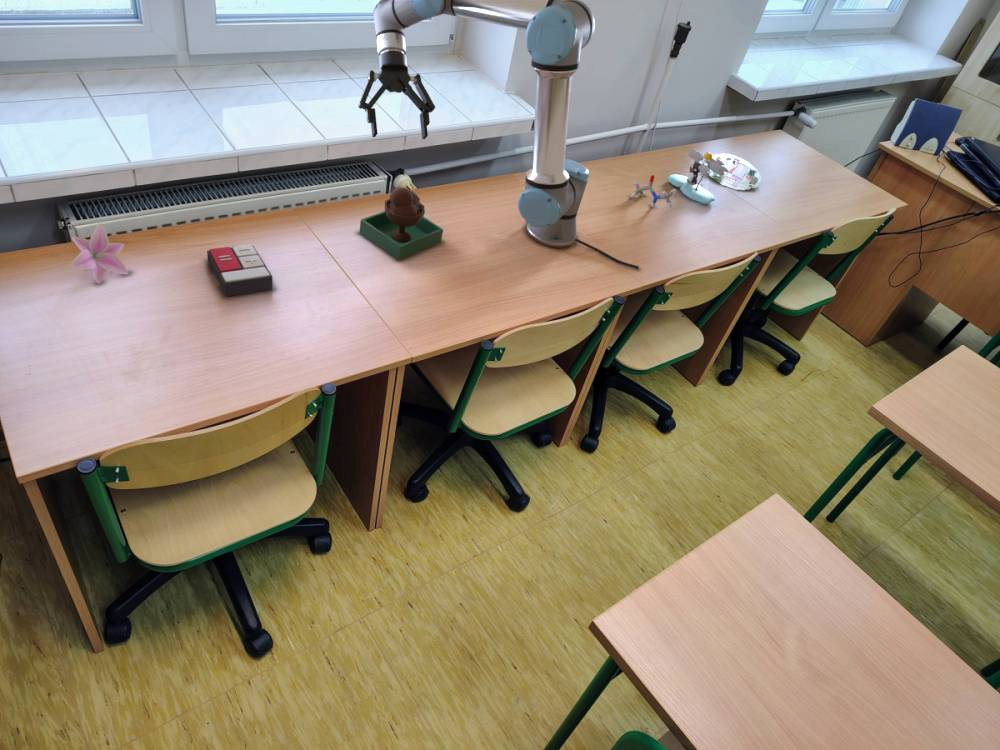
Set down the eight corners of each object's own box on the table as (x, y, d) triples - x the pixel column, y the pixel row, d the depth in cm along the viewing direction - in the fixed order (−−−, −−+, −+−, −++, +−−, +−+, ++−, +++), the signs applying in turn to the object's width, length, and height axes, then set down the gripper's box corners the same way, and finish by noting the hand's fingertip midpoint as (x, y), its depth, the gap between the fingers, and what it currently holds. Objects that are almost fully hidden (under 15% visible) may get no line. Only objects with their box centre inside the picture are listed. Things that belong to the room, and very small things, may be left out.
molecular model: (674, 215, 241) (686, 187, 236) (661, 216, 235) (673, 187, 230) (634, 195, 250) (644, 167, 245) (620, 194, 244) (631, 166, 239)
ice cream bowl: (414, 252, 191) (422, 203, 181) (375, 240, 191) (380, 190, 182) (425, 233, 199) (433, 185, 189) (387, 222, 199) (393, 173, 190)
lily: (64, 289, 155) (75, 265, 149) (58, 243, 158) (68, 219, 152) (124, 293, 163) (136, 271, 157) (116, 250, 167) (128, 226, 161)
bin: (441, 242, 198) (443, 229, 195) (398, 260, 187) (400, 246, 185) (402, 216, 204) (404, 203, 201) (359, 233, 193) (360, 219, 190)
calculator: (252, 241, 174) (272, 274, 165) (253, 256, 177) (273, 289, 168) (206, 247, 168) (224, 281, 159) (207, 262, 171) (225, 297, 162)
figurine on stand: (661, 179, 260) (677, 140, 250) (682, 177, 265) (698, 139, 256) (697, 207, 249) (714, 168, 239) (718, 205, 254) (736, 166, 244)
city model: (697, 184, 269) (704, 170, 264) (697, 152, 284) (703, 139, 280) (760, 202, 269) (768, 189, 265) (756, 170, 285) (764, 156, 280)
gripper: (432, 65, 195) (440, 142, 195) (342, 58, 185) (350, 139, 185) (441, 53, 188) (449, 133, 188) (347, 44, 178) (356, 129, 178)
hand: (400, 136), depth 186 cm, fingers open, 13 cm apart
